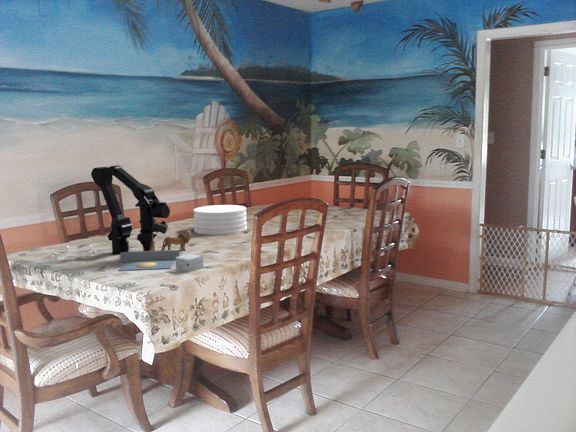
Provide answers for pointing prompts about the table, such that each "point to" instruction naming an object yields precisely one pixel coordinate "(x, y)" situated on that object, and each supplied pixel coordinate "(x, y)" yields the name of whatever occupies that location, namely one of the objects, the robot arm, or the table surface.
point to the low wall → (149, 255)
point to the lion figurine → (177, 240)
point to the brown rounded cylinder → (152, 247)
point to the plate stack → (220, 219)
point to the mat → (146, 265)
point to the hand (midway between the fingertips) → (149, 252)
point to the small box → (189, 262)
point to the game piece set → (69, 249)
